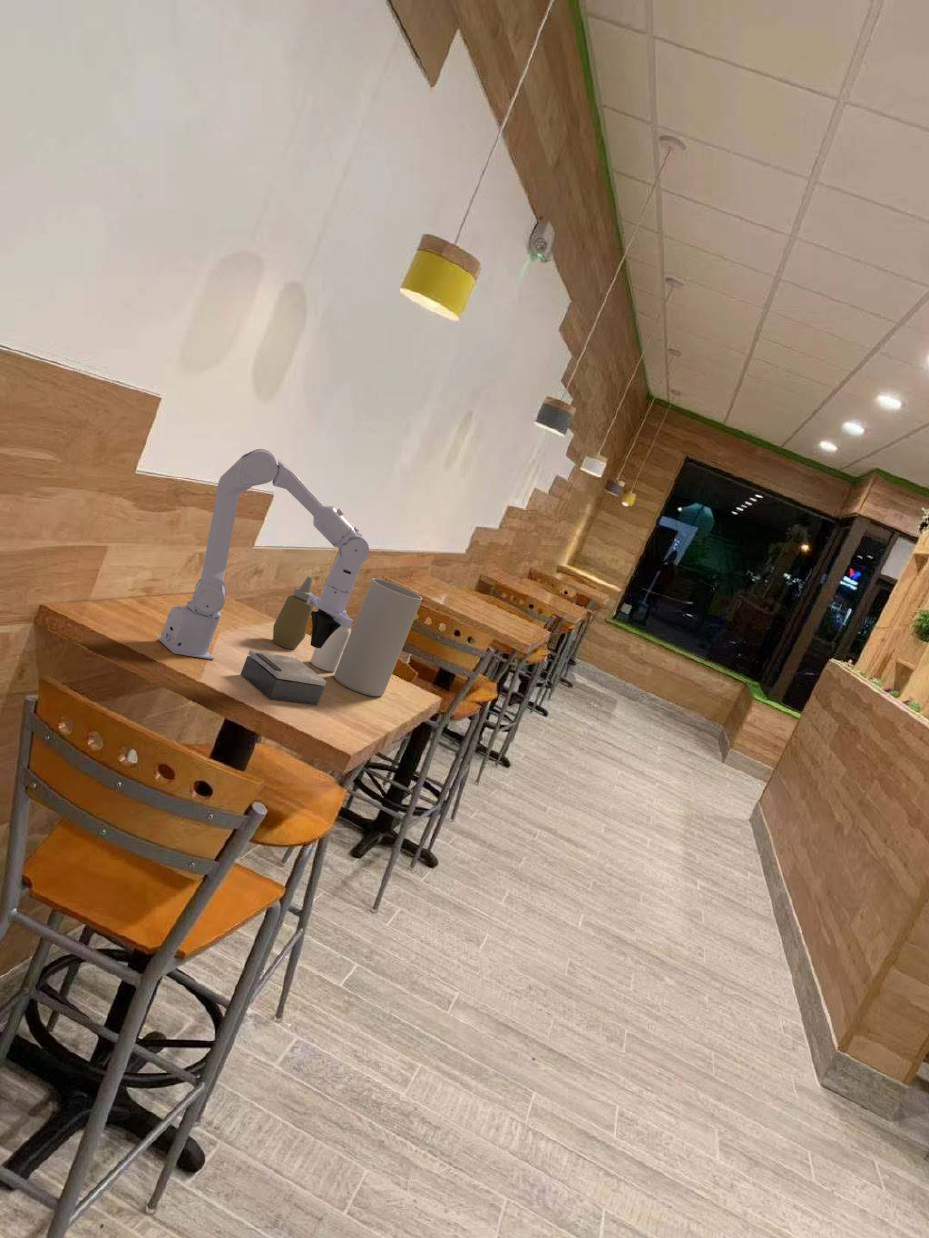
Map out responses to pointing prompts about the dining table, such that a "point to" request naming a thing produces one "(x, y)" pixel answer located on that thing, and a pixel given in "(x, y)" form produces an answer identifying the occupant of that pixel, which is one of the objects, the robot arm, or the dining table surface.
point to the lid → (287, 668)
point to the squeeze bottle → (294, 618)
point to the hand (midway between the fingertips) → (315, 646)
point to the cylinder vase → (377, 637)
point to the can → (331, 650)
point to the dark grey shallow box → (280, 685)
